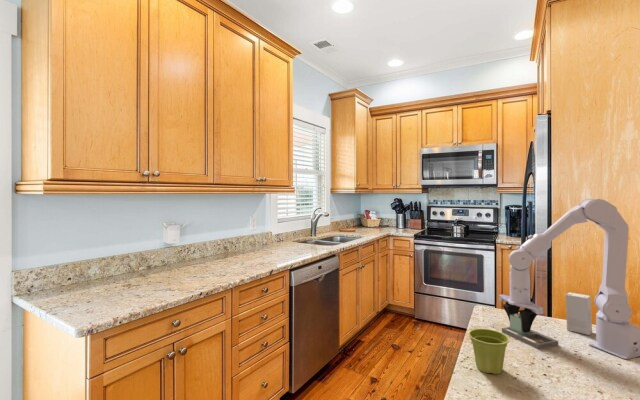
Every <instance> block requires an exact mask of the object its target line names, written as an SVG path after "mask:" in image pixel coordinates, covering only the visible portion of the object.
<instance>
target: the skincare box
mask: <svg viewBox="0 0 640 400" xmlns="http://www.w3.org/2000/svg"><path fill="white" fill-rule="evenodd" d="M565 310H566V311H565V315H566V330H567V331H570V332H574V333H578V334H583V335H587V336H590V335H591V334H592V333H593V324H592V323H593V321H592V318H593V317H592V297H591V295H589V294H588V295H586V294H583V293H577V292H576V293H575V292H570V291H569V292H567V293H566V294H565Z"/></svg>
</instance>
